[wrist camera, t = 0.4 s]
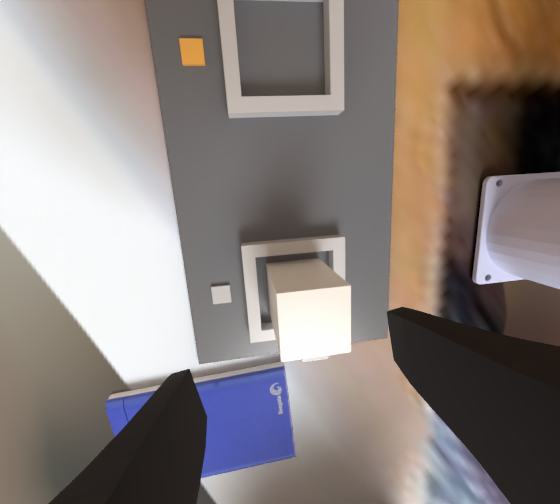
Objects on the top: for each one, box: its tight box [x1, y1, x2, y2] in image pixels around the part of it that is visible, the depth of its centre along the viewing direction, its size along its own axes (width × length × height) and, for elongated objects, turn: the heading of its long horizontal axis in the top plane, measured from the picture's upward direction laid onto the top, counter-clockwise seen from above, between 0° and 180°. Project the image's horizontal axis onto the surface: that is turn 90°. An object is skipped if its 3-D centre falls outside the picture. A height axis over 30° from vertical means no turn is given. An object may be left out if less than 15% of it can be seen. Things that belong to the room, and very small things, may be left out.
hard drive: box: [106, 362, 296, 478], centre depth 20 cm, size 2×8×12 cm
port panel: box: [145, 0, 399, 364], centre depth 16 cm, size 14×24×2 cm, turn 4°
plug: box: [266, 258, 351, 362], centre depth 15 cm, size 4×4×6 cm
